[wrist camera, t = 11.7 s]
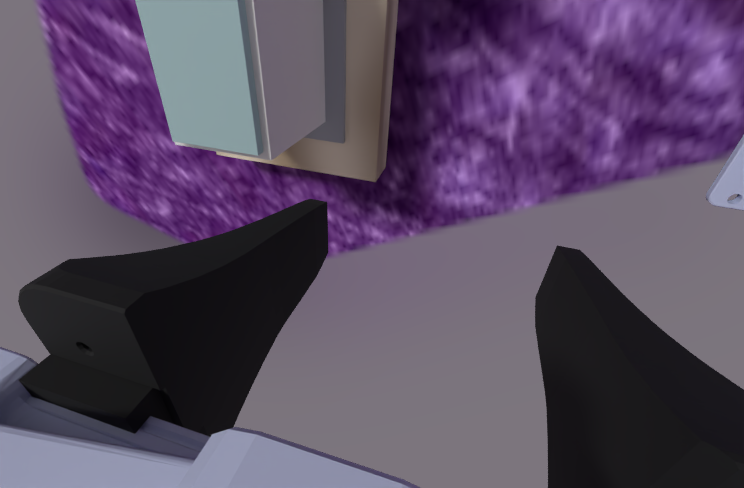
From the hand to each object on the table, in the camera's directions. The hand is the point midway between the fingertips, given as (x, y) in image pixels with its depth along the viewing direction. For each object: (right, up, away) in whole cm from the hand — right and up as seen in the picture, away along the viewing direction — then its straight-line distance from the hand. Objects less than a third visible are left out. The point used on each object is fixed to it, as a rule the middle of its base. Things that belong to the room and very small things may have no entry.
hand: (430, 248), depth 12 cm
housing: (-6, +10, +5) cm, 13 cm away
